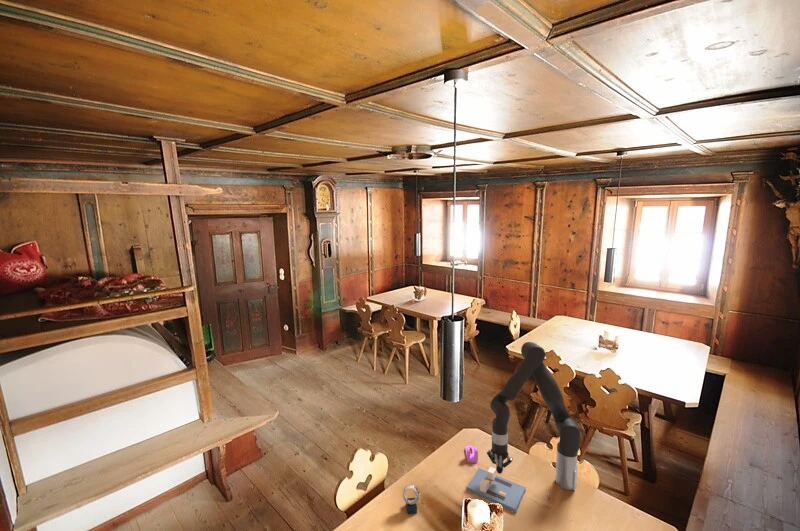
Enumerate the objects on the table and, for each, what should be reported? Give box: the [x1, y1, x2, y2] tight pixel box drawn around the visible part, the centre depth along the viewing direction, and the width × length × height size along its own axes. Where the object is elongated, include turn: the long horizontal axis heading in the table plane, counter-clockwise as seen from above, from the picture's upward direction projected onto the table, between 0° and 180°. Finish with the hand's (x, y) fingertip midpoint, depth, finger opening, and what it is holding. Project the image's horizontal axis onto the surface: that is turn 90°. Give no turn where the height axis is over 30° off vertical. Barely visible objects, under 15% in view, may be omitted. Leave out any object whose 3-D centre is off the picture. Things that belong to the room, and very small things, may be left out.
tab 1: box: [480, 479, 489, 493], centre depth 167 cm, size 3×4×4 cm
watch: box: [402, 484, 421, 515], centre depth 158 cm, size 6×8×11 cm
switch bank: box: [465, 467, 527, 514], centre depth 169 cm, size 24×16×2 cm, turn 55°
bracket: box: [464, 444, 479, 464], centre depth 196 cm, size 13×6×7 cm, turn 176°
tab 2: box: [487, 466, 497, 480], centre depth 175 cm, size 3×4×4 cm
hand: (499, 472), depth 173 cm, fingers closed
